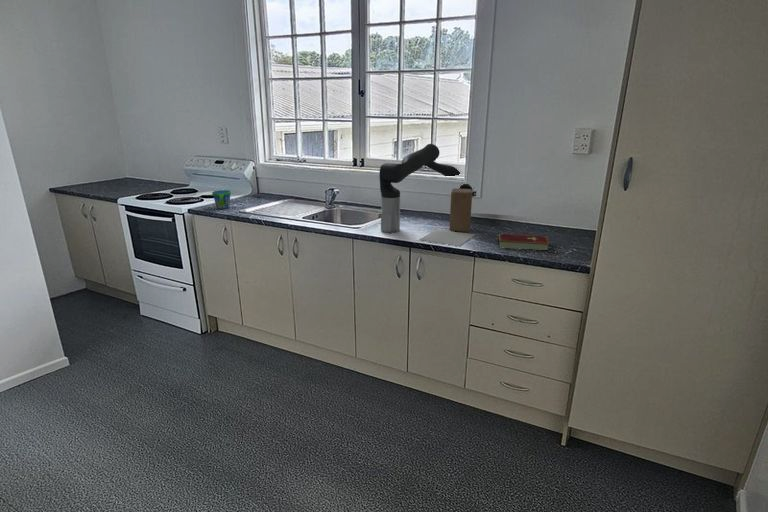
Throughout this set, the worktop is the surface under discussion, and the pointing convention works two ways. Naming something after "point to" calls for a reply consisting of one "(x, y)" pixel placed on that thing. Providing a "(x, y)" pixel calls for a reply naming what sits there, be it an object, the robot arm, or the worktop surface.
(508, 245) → the hardcover book
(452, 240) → the grey mat
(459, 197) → the wooden block
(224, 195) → the snack cup
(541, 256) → the worktop surface
